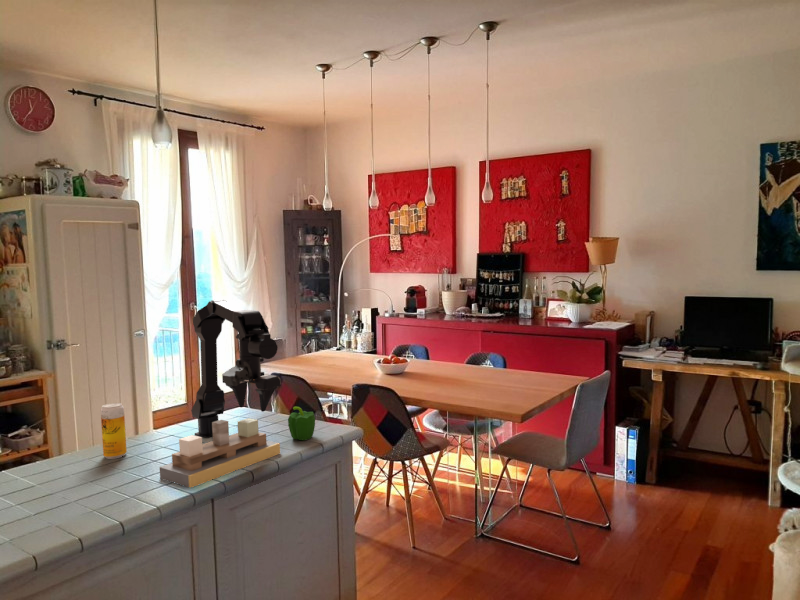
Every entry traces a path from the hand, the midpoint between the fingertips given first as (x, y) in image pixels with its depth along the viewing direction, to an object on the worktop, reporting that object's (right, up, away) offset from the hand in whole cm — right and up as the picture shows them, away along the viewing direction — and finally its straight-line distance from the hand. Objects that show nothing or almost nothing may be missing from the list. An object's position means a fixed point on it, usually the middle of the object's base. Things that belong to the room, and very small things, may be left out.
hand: (252, 409), depth 172 cm
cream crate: (-12, -8, -17) cm, 22 cm away
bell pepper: (+12, -12, +14) cm, 22 cm away
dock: (-6, -14, -8) cm, 17 cm away
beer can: (-40, -14, +2) cm, 43 cm away
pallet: (-6, -11, -9) cm, 15 cm away
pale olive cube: (-1, -7, -1) cm, 7 cm away
